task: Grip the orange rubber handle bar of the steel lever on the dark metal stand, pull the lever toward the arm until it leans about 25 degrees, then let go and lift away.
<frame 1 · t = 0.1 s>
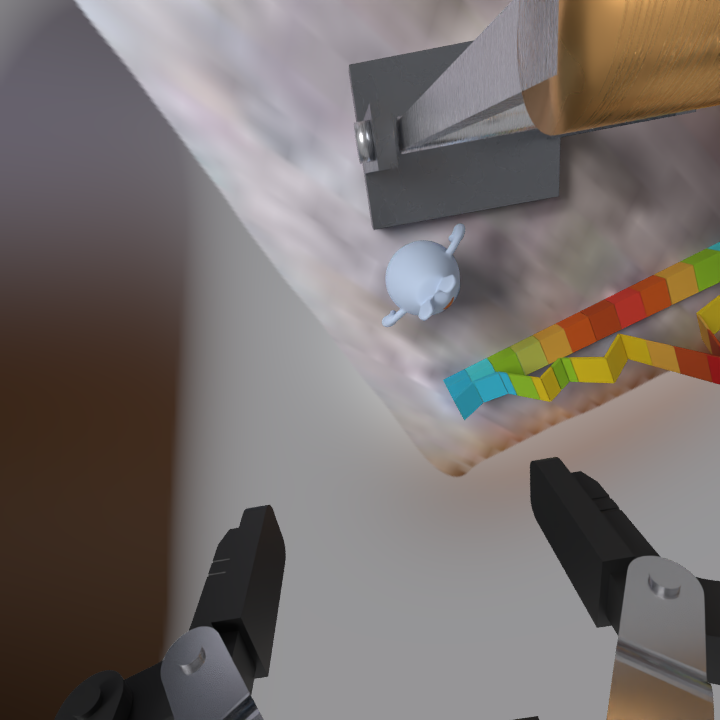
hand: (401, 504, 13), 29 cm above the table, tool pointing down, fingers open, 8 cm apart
toy figure: (413, 266, 39), on the table
lever stand: (454, 137, 35), on the table
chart: (581, 323, 43), on the table
lever: (630, 72, 14), point 23 cm above the table, hinge at 0.0°
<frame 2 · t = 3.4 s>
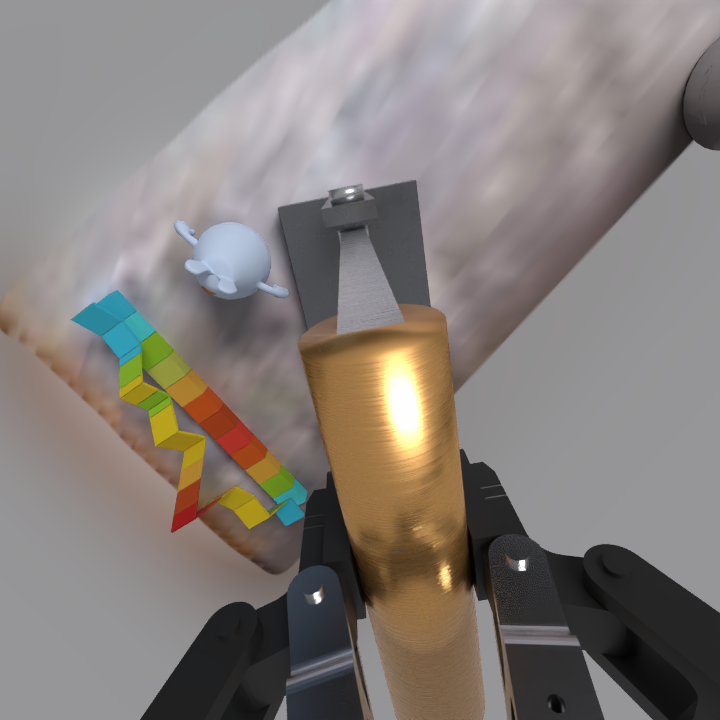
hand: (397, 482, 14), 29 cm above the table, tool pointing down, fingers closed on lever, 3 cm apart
toy figure: (245, 252, 39), on the table
lever stand: (362, 280, 40), on the table
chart: (213, 407, 46), on the table
lever: (383, 396, 19), point 23 cm above the table, hinge at 0.0°, touching gripper
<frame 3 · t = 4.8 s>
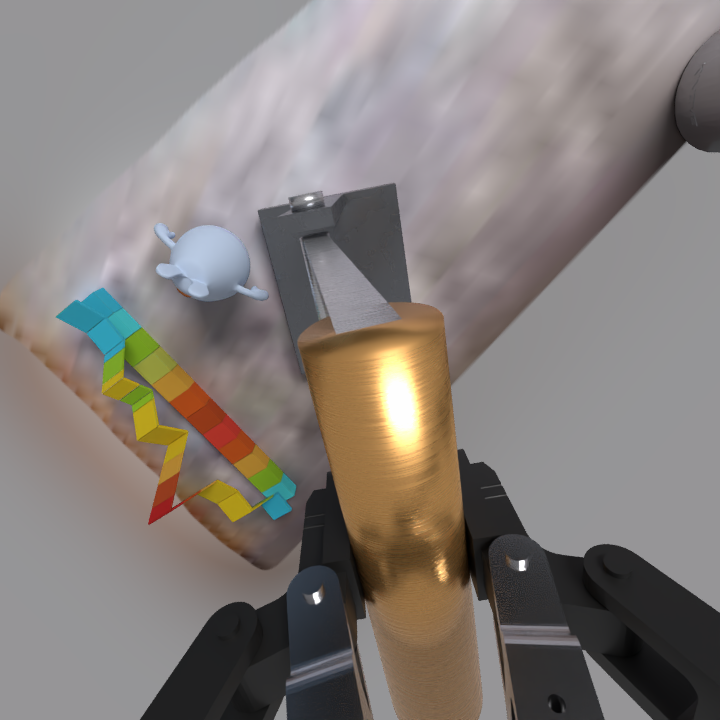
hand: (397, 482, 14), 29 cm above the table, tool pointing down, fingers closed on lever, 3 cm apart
toy figure: (229, 253, 39), on the table
lever stand: (344, 282, 40), on the table
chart: (201, 402, 47), on the table
lever: (358, 399, 19), point 23 cm above the table, hinge at 10.1°, touching gripper
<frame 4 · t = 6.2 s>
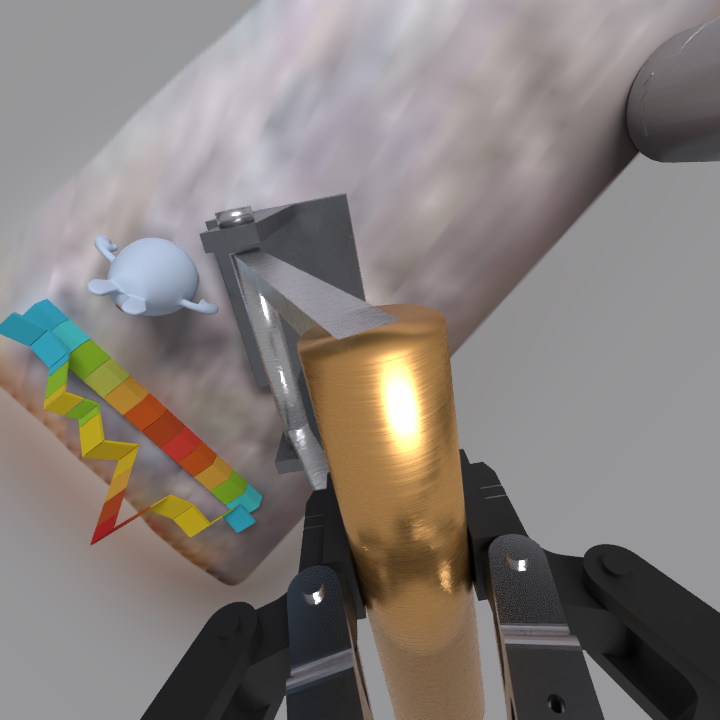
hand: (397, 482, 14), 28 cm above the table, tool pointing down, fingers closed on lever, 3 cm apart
toy figure: (180, 265, 38), on the table
lever stand: (300, 294, 39), on the table
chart: (158, 414, 45), on the table
lever: (316, 414, 18), point 23 cm above the table, hinge at 22.2°, touching gripper
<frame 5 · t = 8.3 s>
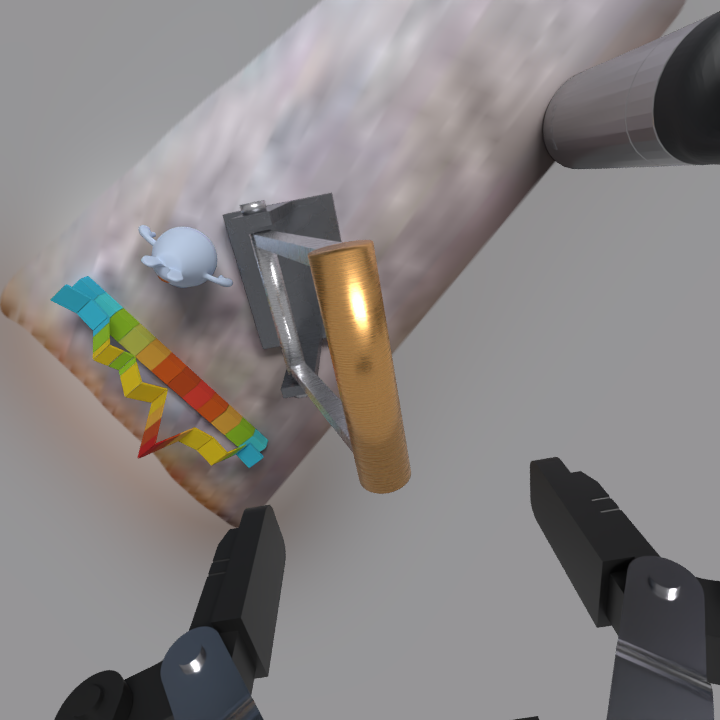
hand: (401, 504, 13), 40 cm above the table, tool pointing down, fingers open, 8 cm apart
toy figure: (201, 250, 48), on the table
lever stand: (296, 273, 49), on the table
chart: (179, 371, 55), on the table
lever: (312, 333, 29), point 23 cm above the table, hinge at 22.5°
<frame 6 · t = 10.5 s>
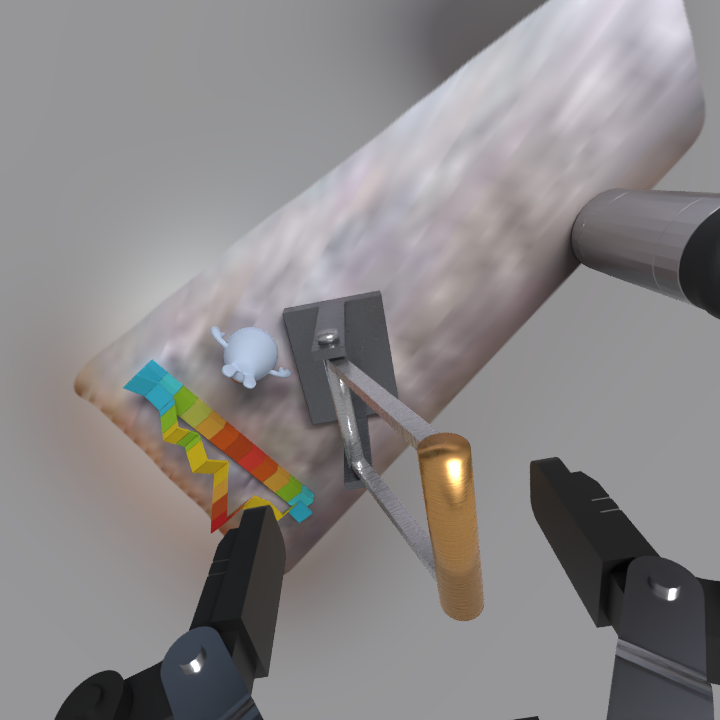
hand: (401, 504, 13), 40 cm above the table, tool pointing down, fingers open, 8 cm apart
toy figure: (259, 338, 53), on the table
lever stand: (344, 357, 54), on the table
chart: (232, 437, 59), on the table
lever: (388, 460, 34), point 23 cm above the table, hinge at 22.5°
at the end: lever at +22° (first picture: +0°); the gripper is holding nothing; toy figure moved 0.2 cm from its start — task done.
